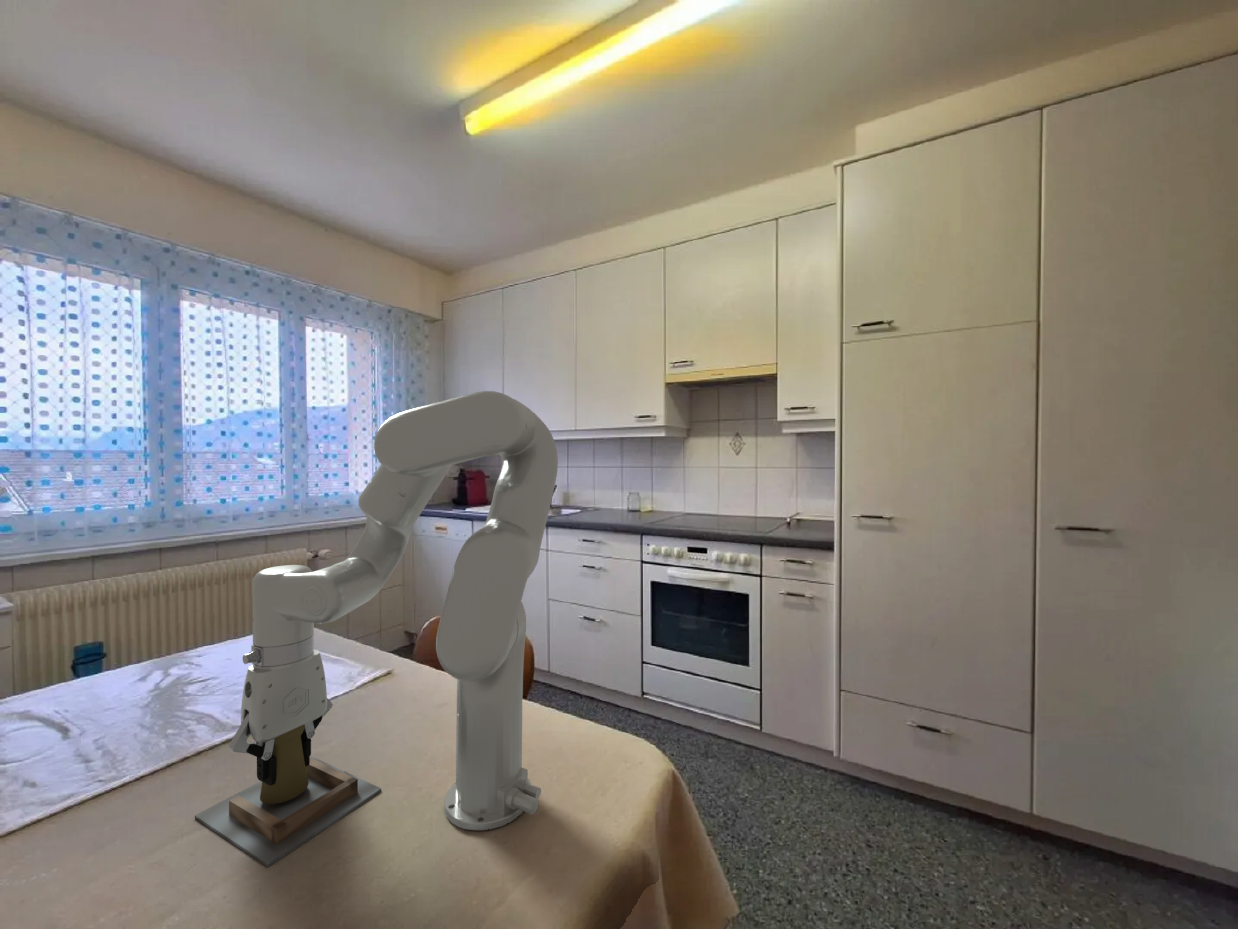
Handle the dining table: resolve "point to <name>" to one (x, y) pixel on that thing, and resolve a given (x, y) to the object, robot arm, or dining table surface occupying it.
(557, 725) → the dining table surface
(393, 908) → the dining table surface
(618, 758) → the dining table surface
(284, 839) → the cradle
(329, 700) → the robot arm
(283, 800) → the cork
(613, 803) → the dining table surface
